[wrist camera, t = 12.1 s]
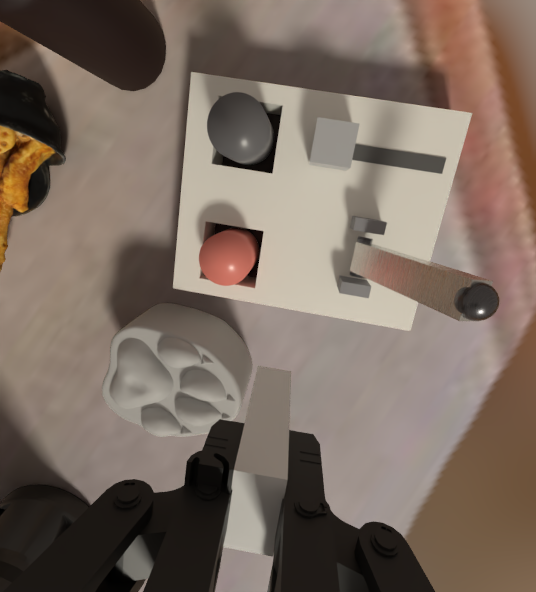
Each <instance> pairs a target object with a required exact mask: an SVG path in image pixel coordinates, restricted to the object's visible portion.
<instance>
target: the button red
mask: <svg viewBox="0 0 536 592" xmlns="http://www.w3.org/2000/svg"><path fill="white" fill-rule="evenodd" d="M258 257H259V245H258V242H257V240H256V238H255V237H254V235H253V234H252V233H250V232H249V231H247V230H246V229H243V228H237V227H236V228H230V229H227V230H225V231H222V232H220V233H218V234H215V235H213V236H211V237H210V238H208V239H207V240H206V241H205V242H204V244H203V245H202V247H201V249H200V253H199V264H200V267H201V270H202V272H203V273H204V275H205V276H206V277H207V278H208V279H209V280H210V281H212V282H214V283H215V284H218V285H222V286H230V285H234V284H237V283H239V282H240V281H242V280H243V279H244V278H245V277H246V275H247V274H248V273H249V271H250V270H251V269H252V267H253V266H254V265H255V263H256V262H257V260H258Z"/></svg>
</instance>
